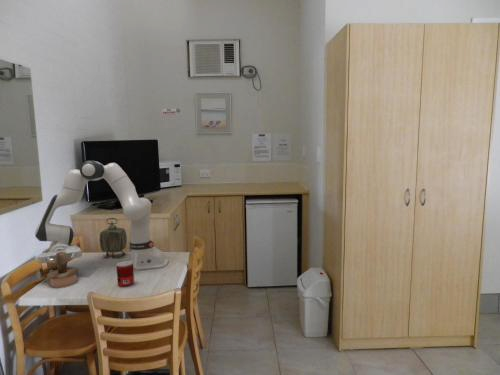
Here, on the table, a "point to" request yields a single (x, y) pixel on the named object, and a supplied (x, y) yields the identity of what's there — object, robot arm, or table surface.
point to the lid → (62, 268)
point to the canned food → (125, 273)
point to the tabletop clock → (113, 239)
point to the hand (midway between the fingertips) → (61, 259)
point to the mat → (86, 271)
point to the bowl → (63, 281)
